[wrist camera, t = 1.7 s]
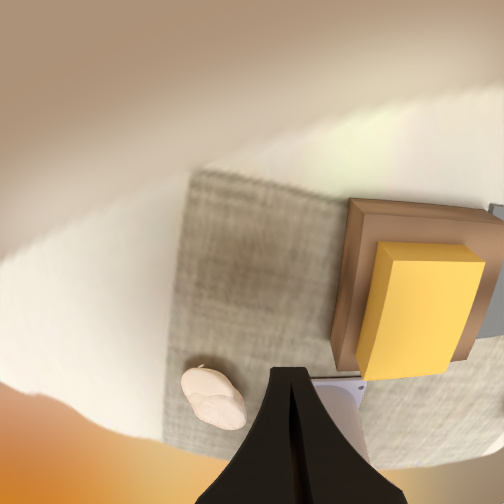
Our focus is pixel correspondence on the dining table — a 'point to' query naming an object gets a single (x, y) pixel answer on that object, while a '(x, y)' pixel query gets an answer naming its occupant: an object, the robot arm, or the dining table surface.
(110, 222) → the dining table surface
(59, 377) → the dining table surface
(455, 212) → the brown cuboid
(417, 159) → the dining table surface
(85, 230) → the dining table surface
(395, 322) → the yellow cuboid
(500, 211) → the mat
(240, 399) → the dumpling
